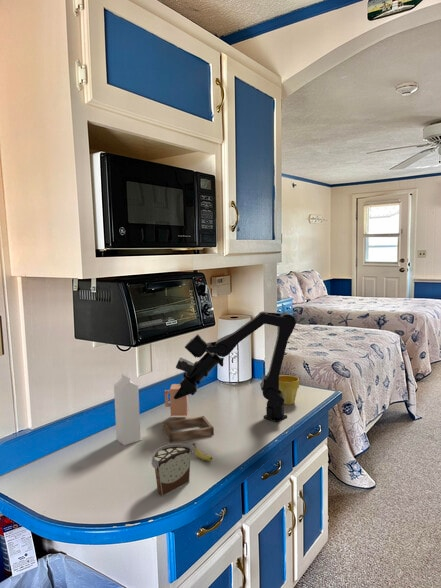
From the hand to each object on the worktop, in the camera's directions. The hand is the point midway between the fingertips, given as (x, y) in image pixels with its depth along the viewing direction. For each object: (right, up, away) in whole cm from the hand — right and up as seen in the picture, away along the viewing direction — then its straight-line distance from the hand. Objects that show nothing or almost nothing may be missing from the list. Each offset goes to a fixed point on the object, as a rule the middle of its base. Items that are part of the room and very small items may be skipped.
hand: (175, 395), depth 162 cm
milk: (-14, -11, -17) cm, 24 cm away
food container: (+3, -14, -45) cm, 47 cm away
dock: (+5, -10, -12) cm, 16 cm away
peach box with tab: (0, -7, +1) cm, 7 cm away
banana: (+11, -12, -31) cm, 35 cm away
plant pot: (+43, -6, +16) cm, 47 cm away
